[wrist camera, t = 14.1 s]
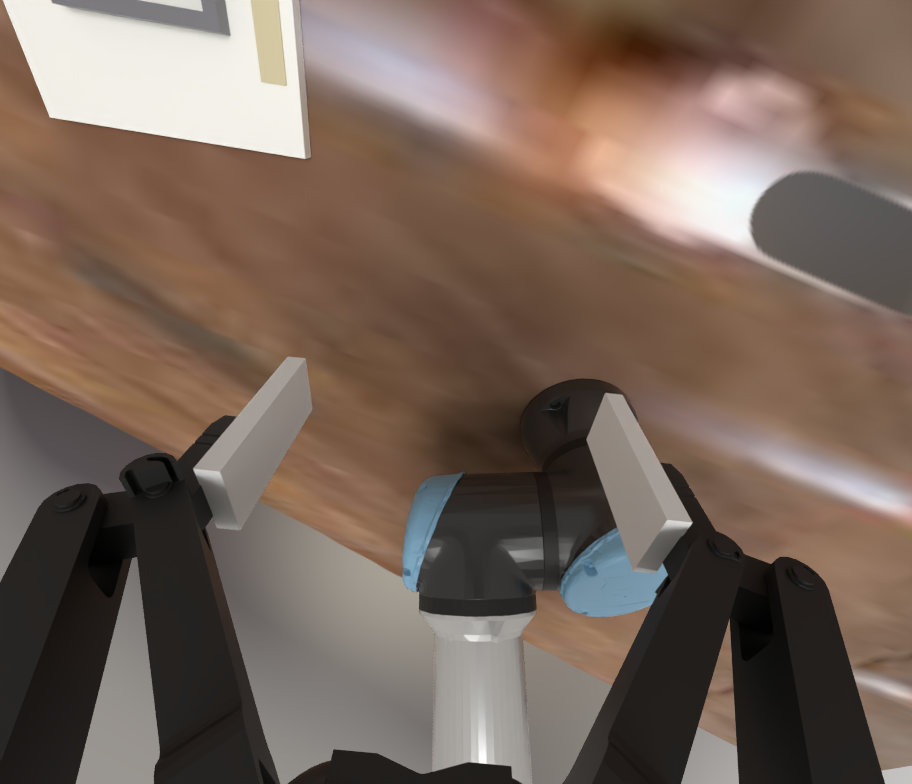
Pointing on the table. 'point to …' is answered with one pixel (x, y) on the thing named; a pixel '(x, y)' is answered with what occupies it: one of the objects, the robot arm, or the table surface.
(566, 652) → the table surface
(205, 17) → the white board
